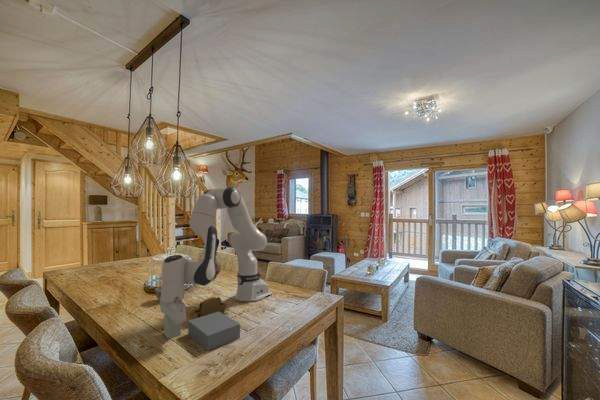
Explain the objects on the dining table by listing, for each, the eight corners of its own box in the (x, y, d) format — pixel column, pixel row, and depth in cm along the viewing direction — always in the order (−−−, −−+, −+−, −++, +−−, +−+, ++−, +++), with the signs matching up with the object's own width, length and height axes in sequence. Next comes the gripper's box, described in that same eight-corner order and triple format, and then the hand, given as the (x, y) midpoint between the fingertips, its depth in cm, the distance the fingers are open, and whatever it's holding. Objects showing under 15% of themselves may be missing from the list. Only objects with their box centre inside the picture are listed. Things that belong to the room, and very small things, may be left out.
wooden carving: (222, 311, 135) (222, 292, 135) (227, 314, 132) (228, 294, 133) (191, 322, 123) (192, 301, 123) (197, 325, 120) (197, 303, 120)
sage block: (176, 330, 115) (176, 312, 115) (180, 334, 111) (180, 315, 111) (163, 334, 111) (164, 315, 111) (168, 338, 108) (168, 319, 108)
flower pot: (167, 296, 157) (168, 284, 157) (178, 299, 152) (178, 287, 152) (151, 301, 149) (151, 288, 149) (161, 305, 143) (161, 291, 144)
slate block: (218, 324, 122) (218, 311, 122) (239, 338, 109) (240, 324, 109) (188, 334, 112) (188, 320, 112) (207, 351, 99) (207, 335, 99)
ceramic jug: (203, 282, 185) (204, 239, 185) (195, 277, 196) (196, 237, 197) (226, 278, 196) (226, 237, 197) (217, 274, 208) (217, 235, 208)
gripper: (190, 299, 106) (189, 333, 106) (172, 287, 121) (171, 317, 121) (174, 303, 102) (173, 339, 102) (157, 290, 116) (156, 322, 116)
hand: (172, 327), depth 111 cm, fingers closed on sage block, 5 cm apart
